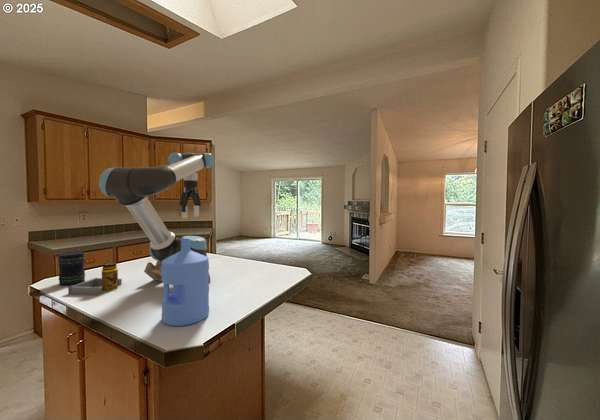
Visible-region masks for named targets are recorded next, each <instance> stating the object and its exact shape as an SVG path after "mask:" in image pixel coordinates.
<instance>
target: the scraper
mask: <svg viewBox="0 0 600 420" xmlns="http://www.w3.org/2000/svg"><path fill="white" fill-rule="evenodd" d="M161 263H162V261H157V260H156V263H155V264H153V263H152V262H147V264H146V267H145V268H144V270H143V272H144V274H146V275H147V276H149V277H150V278H151V279H152V280H153V281H162V274H161V266H162V264H161Z"/></svg>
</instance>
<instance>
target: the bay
mask: <svg viewBox="0 0 600 420" xmlns="http://www.w3.org/2000/svg"><path fill="white" fill-rule="evenodd" d="M122 281H123V278H118V286H120V285H121V286H122V284H123V283H122ZM101 286H102V277H94V278H92V279H91V278H90V279H88V280H85V282H82V283H79V284H76V285H72V286H67V287H68V288H67V289H68V295H83V296H84V295H86V296H99V295H101V292H100V287H101ZM121 286H120V287H121Z"/></svg>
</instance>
